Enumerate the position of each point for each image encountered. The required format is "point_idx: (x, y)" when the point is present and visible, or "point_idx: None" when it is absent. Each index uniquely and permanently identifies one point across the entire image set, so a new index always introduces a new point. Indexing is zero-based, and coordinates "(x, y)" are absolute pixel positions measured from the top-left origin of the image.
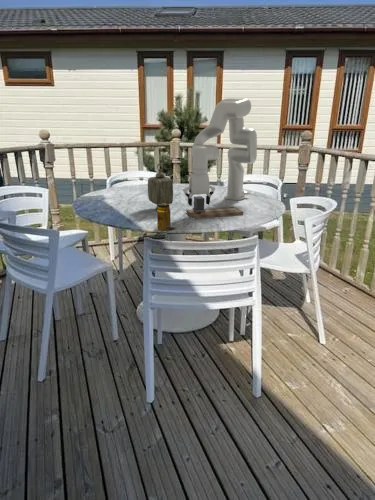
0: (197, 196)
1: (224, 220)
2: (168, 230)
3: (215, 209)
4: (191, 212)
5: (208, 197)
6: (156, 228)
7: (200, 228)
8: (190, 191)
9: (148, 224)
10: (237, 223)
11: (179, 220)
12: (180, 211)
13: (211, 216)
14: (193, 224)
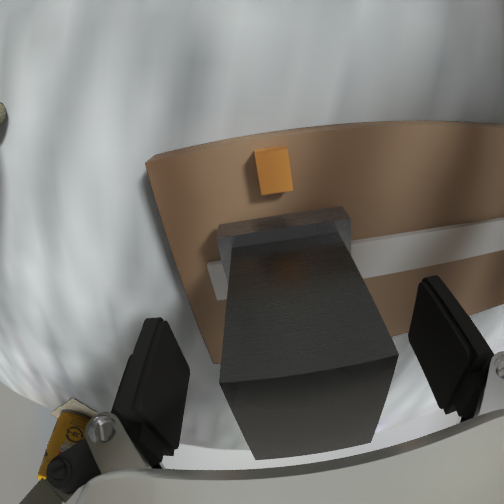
0: (309, 372)
1: (407, 375)
2: None
3: (480, 196)
4: (200, 277)
5: (446, 409)
6: (55, 411)
7: (234, 446)
8: (110, 488)
9: (6, 368)
10: (429, 401)
11: (116, 360)
12: (96, 105)
13: None
14: (205, 417)
